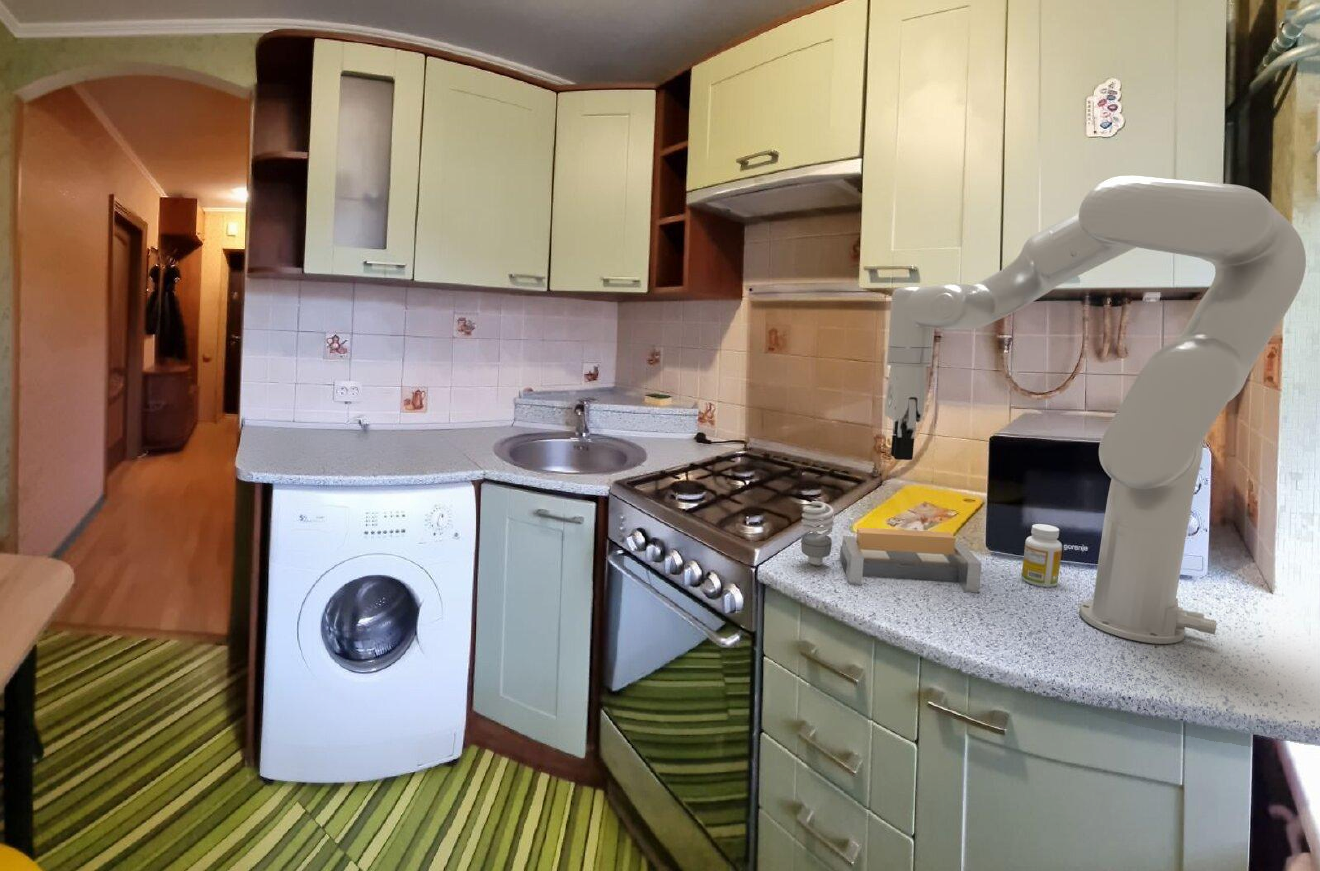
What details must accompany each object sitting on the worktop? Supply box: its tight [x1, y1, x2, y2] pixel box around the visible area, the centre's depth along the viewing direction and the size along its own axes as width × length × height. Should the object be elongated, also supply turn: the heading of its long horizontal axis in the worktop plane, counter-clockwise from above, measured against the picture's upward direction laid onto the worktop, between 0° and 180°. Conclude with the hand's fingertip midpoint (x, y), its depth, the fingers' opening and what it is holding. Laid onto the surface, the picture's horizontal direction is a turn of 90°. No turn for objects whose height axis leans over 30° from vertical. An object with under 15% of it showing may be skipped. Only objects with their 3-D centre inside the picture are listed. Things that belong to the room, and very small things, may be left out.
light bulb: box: [800, 500, 835, 567], centre depth 115 cm, size 6×6×12 cm
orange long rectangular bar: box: [855, 527, 956, 554], centre depth 114 cm, size 16×3×3 cm, turn 82°
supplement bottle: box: [1021, 523, 1063, 588], centre depth 110 cm, size 5×5×10 cm
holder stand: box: [839, 535, 983, 593], centre depth 112 cm, size 21×12×5 cm, turn 82°
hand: (901, 457), depth 118 cm, fingers closed
